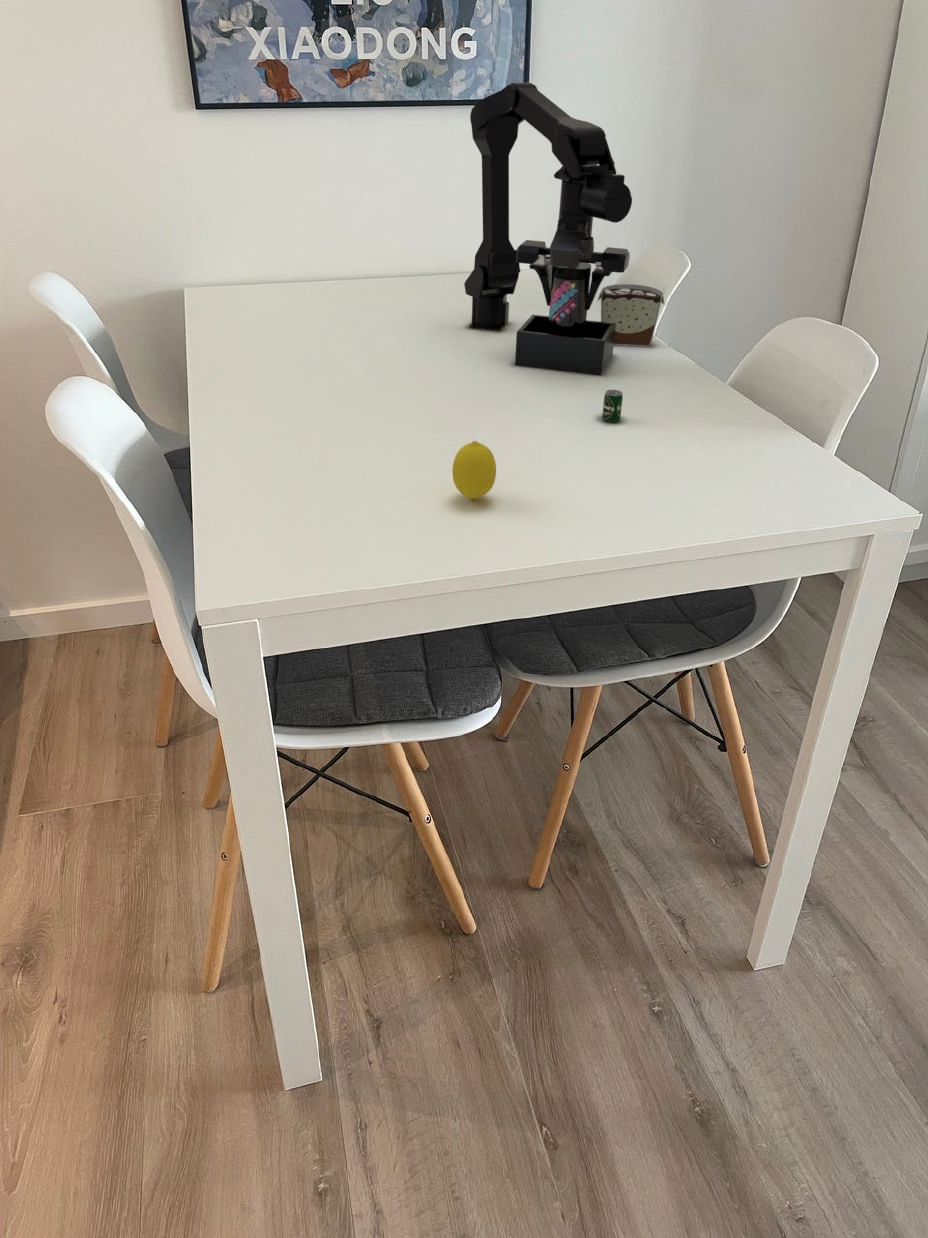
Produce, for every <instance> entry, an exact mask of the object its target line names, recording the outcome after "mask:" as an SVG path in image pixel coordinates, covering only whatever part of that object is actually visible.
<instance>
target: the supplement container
mask: <svg viewBox="0 0 928 1238" xmlns="http://www.w3.org/2000/svg"><path fill="white" fill-rule="evenodd" d="M591 277H592V263H581V262H580V263H579V266H578V267H577V268H569V267H563V266H558V267H553V266H552V280H551V294H550V306H549V307H548V308H549V311H548V316H549V324H550V325H551V327H553V328H555V329H558V330H565V331H574V330H579V329H582V328H583V327H584V326H585V324H586V320H587V317H588V310H587V299H588V294H589V290H590V285H591Z"/></svg>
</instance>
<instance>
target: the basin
mask: <svg viewBox="0 0 928 1238" xmlns="http://www.w3.org/2000/svg"><path fill="white" fill-rule="evenodd" d="M615 328H616V323H608V322H601V321H599V320H587V319H586V324H585V326H584V327H583V328H582V329H579V330H574V331H565V330H558V329H555V328H553V327H551V325H550V324H549V315H542V314H541V315H540V314H531V316H530V317H529V318H528V319H527V320H526V321H525V322H524V323H523V324H522V326H520V328H518V330H516V335H515V358H514V366H517V367H518V366H519V367H527V368H536V369H544V370H554V371H560V372H569V373H577V374H578V373H579V374H584V375H585V374H587V375H593V376H594V375H595V376H602V374H603V373H604V371H605V369H606V368H607V367H608V364H609V363H610V361H611V359H612V357H613V354H614V347H615V345H614V337H615Z"/></svg>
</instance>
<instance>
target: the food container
mask: <svg viewBox="0 0 928 1238" xmlns="http://www.w3.org/2000/svg"><path fill="white" fill-rule="evenodd" d="M599 301H600V322H608V323H616V328H615V337H614V346H623V347H644V348H651V346H652V342H653V338H654V333H655V329H656V326H657V322H658V318H659V313H660V309H661V304H662V305H663V306H664V305H665V296H664V293H663V291H662V290H660V289H659V288H656V287H652V286H649V285H643V284H634V283H619V284H618V283H617V284H609V285H606V286H604V287H602V288H601V291H600V292H599V295H598V298H597V302H599Z"/></svg>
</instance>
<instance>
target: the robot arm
mask: <svg viewBox="0 0 928 1238" xmlns="http://www.w3.org/2000/svg"><path fill="white" fill-rule="evenodd" d="M469 115H470V116H469V118H470V119H469V120H470V124H471V134H472V140H473V142H474V144H475V146H476V147H477V149H478V151H479V153H480V155H481V194H482V195H481V197H482V199H481V200H482V203H481V204H482V205H481V207H482V241H481V243H480V245H479V247H478V249H477V251H476V253H475V255H474V266H473V270H472V271H471V273H470V274H469V276H468V277H467V278H466V279H465V281H464V283H463V285H464V291H465V295H468V296H470V297H472V298H471V299H472V300H471V322H470V324H468V328H469V329H477V330H485V331H494V332H501V331H502V330H503V329H504V328H505V327H506V326H507V325H508V324H509V317H510V315H509V314H510V302H509V301H508V300H507V299H508V295H514V294H515V290H516V286H517V284H518V280H519V276H520V273H521V267H520V264H525V265H526V264H527V265H529V266H528V267H529V269H530V270H534V271H535V272H536V274H537V275H538V278H539V281H540V284H541V286H542V290H543V295H544V298H545V302H546V306H547V307H550V294H551V280H552V266H553V267H558V266H563V267H569V268H577V267H578V266H579V263H580V262H581V263H589V264H591V265H592V264H594V266H595V268H594V269H593V270H592V271H591V278H590V285H589V294H588V299H587V311H589V310H590V309H591V307H592V305H593V302H594V300H595V298H596V295H597V293H598V290H599V288H600V286H601V284H602V282H603V280H604V279H605V277H610V276H611V275H612V274H613V273H620V274H621V273H625V271H626V270H627V268H628V267H629V264H630V257H631V256H630V253H631V252H629V249H628V248H620V247H609V246H607V247H606V248H605V249H604V251H603V252H602V251H601V252H600V251H595V239H594V236H592V235H593V234H592V233H593V224H594V223H593V222H594V219H595V218H596V219H600V220H603V221H606V222H610V223H619V222H622V221H623V220H624V219H626V217H628V214H629V213H630V210H631V209H632V203H633V197H632V192H631V190H630V188H629V186H628V185H627V184H625V177H626V176H625V175H624V174H621V173H620V174H618V173H617V170H616V166H615V165H616V164H615V161H614V158H613V156H612V152H611V150H610V146H609V143H608V140H607V138H606V137H607V135H606V132H605V130H604V129H603V128H602V127H600V126H599V125H597V124H594V123H592V122H589V121H586V120H581V119H577V118H574V117H572V116H570V115H569V114H568V113H566V111H565V110H563V109H562V108H560V106H558V105H557V104H556V103H554V102H553V101H552V100H551V99H550V98H548V97H547V96H546V95H545V94H544V93H542V92H541V91H539V89H538V87H537V86H536V84H533V83H532V82H511V83H509V84H507V85H506V86H504V87H503V88H502V89H501V90H498V91H496V92H494V93H492V94H490V95H487V96H486V97H484V98H481V99H478V100H477V101H476V102H475V103H474V106H473V107H472V108H471V111H470V114H469ZM524 121H525V122H526V123H528V125H530V126H531V127H532V128H534V130H536V131H537V132H538V133H539V134H541V136H543V137H544V138H545V139H546V140H548V142H549V143H550V144H551V145H550V146H551V153H552V154H553V156H554V157H555V158H556V160H557V161H558V162H559V163H560V165H562V166H561V167H560V168H559V169H558V170H556V171H555V173H554V174H553V178H554V179H556V180H560V181H561V184H560V196H559V211H558V212H559V213H558V220H557V224H556V225H557V227H556V231H555V233H554V236H553V239H552V240H551V243H550V245H549V247H547V244H546V241H543V240H534V239H533V240H532V239H526V240H525V241H523V242H522V243H521V244H520V245H519V246H517V248H516V249H515V248H514V246H513V244H512V242H511V241H510V154H511V152H512V150H513V148H514V145H516V142H517V140H518V136H519V126H520V124H522V123H523V122H524Z"/></svg>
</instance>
